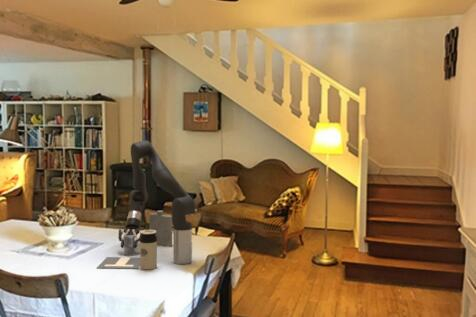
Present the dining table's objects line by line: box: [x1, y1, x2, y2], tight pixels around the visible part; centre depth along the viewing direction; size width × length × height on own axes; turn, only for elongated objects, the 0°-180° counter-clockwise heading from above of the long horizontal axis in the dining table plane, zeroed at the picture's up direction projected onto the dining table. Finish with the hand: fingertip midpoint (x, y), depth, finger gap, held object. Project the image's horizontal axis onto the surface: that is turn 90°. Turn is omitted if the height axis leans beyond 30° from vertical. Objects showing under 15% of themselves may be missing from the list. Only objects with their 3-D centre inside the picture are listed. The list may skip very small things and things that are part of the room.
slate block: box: [123, 235, 136, 257], centre depth 230 cm, size 4×4×10 cm
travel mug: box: [139, 229, 158, 271], centre depth 209 cm, size 8×8×18 cm
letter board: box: [96, 256, 140, 270], centre depth 216 cm, size 20×17×1 cm
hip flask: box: [148, 210, 173, 247], centre depth 250 cm, size 16×4×20 cm, turn 61°
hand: (128, 247), depth 229 cm, fingers open, 6 cm apart
